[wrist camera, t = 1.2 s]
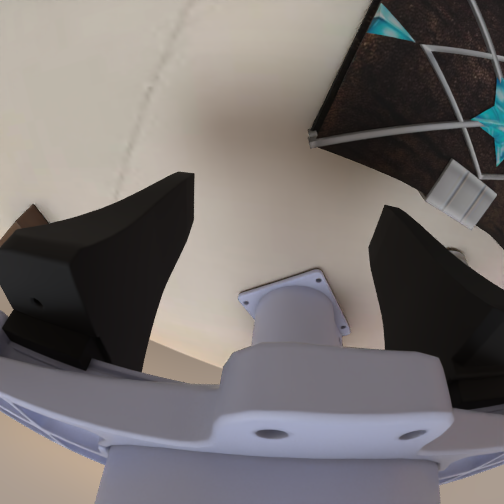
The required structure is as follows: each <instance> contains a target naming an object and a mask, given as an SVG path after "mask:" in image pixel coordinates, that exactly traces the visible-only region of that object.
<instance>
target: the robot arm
mask: <svg viewBox="0 0 504 504" xmlns="http://www.w3.org/2000/svg"><path fill="white" fill-rule="evenodd" d="M193 221H194V173H186V172H177V173H174V174H172V175H170V176H168V177H166V178H164V179H162V180H160V181H158V182H156V183H154V184H153V185H151V186H149V187H147V188H145V189H143V190H141V191H139V192H137V193H135V194H133V195H131V196H129V197H127V198H125V199H123V200H121V201H118V202H116V203H114V204H111V205H109V206H106V207H104V208H101V209H98V210H95V211H92V212H89V213H86V214H83V215H80V216H77V217H74V218H70V219H66V220H63V221H58V222H54V223H50V224H45V225H39V226H33V227H27V228H21V229H17V230H15V231H14V233H13V234H12V235H11V236H10V237H9V238H8V239H7V240H6V241H5V242H4V243H3V245H2V246H1V247H0V285H1V288H2V289H3V291H4V293H5V295H6V297H7V299H8V301H9V302H10V304H11V306H12V308H13V309H14V310H13V311H12V313H11V314H10V316H9V317H8V316H7V315H6V314H5V313H4V312H2V311H1V310H0V411H1V412H3V413H5V414H6V415H8V416H9V417H11V418H12V419H14V420H16V421H17V422H19V423H21V424H23V425H24V426H26V427H28V428H30V429H31V430H33V431H35V432H36V433H38V434H40V435H42V436H44V437H46V438H48V439H49V440H51V441H53V442H55V443H57V444H59V445H61V446H63V447H65V448H67V449H69V450H72V451H74V452H76V453H78V454H80V455H82V456H85V457H87V458H89V459H91V460H94V461H96V462H99V463H101V464H104V465H105V468H104V471H103V475H102V478H101V482H100V486H99V489H98V493H97V497H96V501H95V504H440V492H439V485H442V484H446V483H449V482H453V481H456V480H459V479H463V478H466V477H469V476H472V475H475V474H478V473H481V472H484V471H486V470H489V469H492V468H495V467H497V466H500V465H503V464H504V290H503V289H501V288H500V287H498V286H496V285H495V284H493V283H492V282H490V281H489V280H487V279H486V278H484V277H483V276H481V275H480V274H478V273H477V272H476V271H474V270H473V269H471V268H470V267H469V266H468V265H466V264H465V263H464V262H462V261H461V260H460V259H458V258H457V257H456V256H455V255H454V254H452V253H451V252H450V251H449V250H448V249H447V248H445V247H444V246H443V245H442V244H441V243H440V242H439V241H437V240H436V239H435V238H434V237H433V236H432V235H431V234H430V233H429V232H428V231H426V230H425V229H424V228H423V227H422V226H421V225H420V224H419V223H418V222H416V221H415V220H414V219H413V218H412V217H411V216H409V215H408V214H407V213H406V212H404V211H403V210H401V209H400V208H397V207H392V206H388V205H384V208H383V211H382V214H381V216H380V219H379V222H378V224H377V227H376V229H375V232H374V234H373V237H372V240H371V242H370V245H369V247H368V248H369V258H370V267H371V272H372V276H373V280H374V285H375V289H376V293H377V297H378V301H379V305H380V310H381V314H382V320H383V327H384V340H385V350H379V349H365V348H352V347H343V344H342V336H346V335H348V334H350V332H351V331H350V327H349V325H348V323H347V321H346V319H345V317H344V315H343V313H342V311H341V309H340V306H339V304H338V302H337V300H336V298H335V296H334V294H333V292H332V290H331V288H330V286H329V284H328V282H327V280H326V278H325V276H324V274H323V273H322V271H321V270H319V269H315V270H312V271H308V272H305V273H302V274H299V275H296V276H293V277H290V278H287V279H284V280H281V281H278V282H275V283H271V284H268V285H265V286H262V287H259V288H256V289H252V290H249V291H246V292H243V293H240V294H239V295H238V300H239V301H240V303H241V304H242V305H243V306H244V308H245V309H246V310H247V311H248V313H249V314H250V315H251V316H252V317H253V319H254V320H255V322H254V329H253V337H252V345H251V346H249V347H246V348H244V349H241V350H238V351H236V352H234V353H232V355H231V356H230V358H229V359H228V361H227V362H226V363H225V365H224V366H223V371H222V376H221V382H220V385H218V384H190V383H185V382H180V381H175V380H171V379H167V378H162V377H158V376H153V375H150V374H145V373H142V367H143V363H144V358H145V354H146V349H147V346H148V341H149V337H150V334H151V330H152V326H153V323H154V319H155V316H156V312H157V309H158V306H159V303H160V300H161V297H162V294H163V291H164V289H165V286H166V284H167V282H168V279H169V277H170V275H171V273H172V271H173V269H174V267H175V265H176V263H177V261H178V258H179V256H180V254H181V252H182V250H183V248H184V246H185V244H186V242H187V239H188V236H189V233H190V230H191V227H192V224H193ZM318 278H321V279H319V280H318ZM246 301H248V302H246Z"/></svg>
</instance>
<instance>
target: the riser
mask: <svg viewBox="0 0 504 504" xmlns="http://www.w3.org/2000/svg"><path fill="white" fill-rule="evenodd" d="M45 224H48V222H47V221H46V220H45V219H44V217H43V216H42V215H41V214H40V212H39V211H38V210H37V208H36V207H35V206H34V205H32V206H31V207H30V208H29V209H28V210H26V211H25V212H24V213H23V214H22V215H21V216H20V217H19V218H18V219H17V220H16V221H15V223H14V224H13V225H12V226H11V227H10V229H9V230H8V231H7V232H6V233H5V235H4V236H3V237H2V238H1V240H0V247H1V246H2V245H3V243H4V242H5V241H6V240H7V239H8V238H9V237H10V236H11V235H12V234H13V233H14V231H15V230H17V229H21V228H27V227H33V226H39V225H45Z"/></svg>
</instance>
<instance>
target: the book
mask: <svg viewBox="0 0 504 504" xmlns="http://www.w3.org/2000/svg"><path fill="white" fill-rule="evenodd" d="M308 133H309V137H308V140H309V145H310V148H316V147H318V148H321V149H324V150H326V151H329V152H332V153H334V154H337V155H340V156H342V157H345V158H348V159H350V160H353V161H355V162H358V163H360V164H363V165H365V166H368V167H370V168H373V169H375V170H377V171H380V172H382V173H384V174H387V175H389V176H391V177H394V178H396V179H398V180H400V181H402V182H404V183H406V184H408V185H410V186H411V187H413V188H415V189H417V190H418V191H419V193H420V194H421V196H422V197H423V199H424V200H425V201H426V202H427V203H429V204H431V205H432V206H434V207H436V208H437V209H439V210H440V211H442V212H444V213H445V214H447V215H448V216H450V217H451V218H453V219H455V220H456V221H458V222H459V223H461V224H462V225H464V226H465V227H467V228H468V229H470V230H472V229H473V227H474V226H475V225H476V226H478V227H479V228H481V229H482V230H484V231H485V232H487V233H488V234H490V235H491V236H492V237H493V238H494V239H495V240H496V242H497V243H498V244H499V245H500V246H501V247H502V248H503V249H504V0H373V1H372V3H371V5H370V7H369V9H368V12H367V14H366V16H365V18H364V20H363V22H362V24H361V26H360V28H359V30H358V32H357V34H356V36H355V39H354V41H353V43H352V45H351V47H350V49H349V51H348V53H347V55H346V57H345V59H344V61H343V63H342V65H341V68H340V70H339V72H338V74H337V76H336V78H335V80H334V82H333V84H332V86H331V88H330V90H329V92H328V94H327V96H326V98H325V101H324V103H323V105H322V107H321V109H320V111H319V113H318V115H317V117H316V119H315V121H314V123H313V125H312V127H311V129H308Z"/></svg>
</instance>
